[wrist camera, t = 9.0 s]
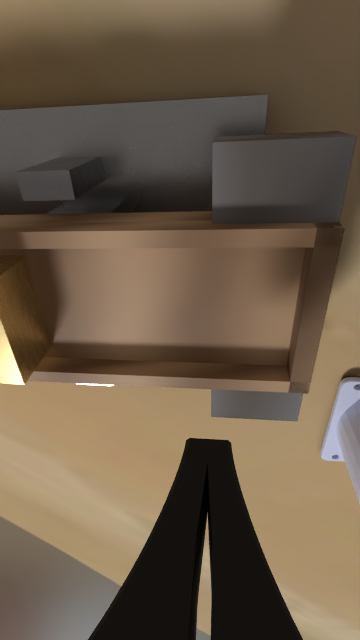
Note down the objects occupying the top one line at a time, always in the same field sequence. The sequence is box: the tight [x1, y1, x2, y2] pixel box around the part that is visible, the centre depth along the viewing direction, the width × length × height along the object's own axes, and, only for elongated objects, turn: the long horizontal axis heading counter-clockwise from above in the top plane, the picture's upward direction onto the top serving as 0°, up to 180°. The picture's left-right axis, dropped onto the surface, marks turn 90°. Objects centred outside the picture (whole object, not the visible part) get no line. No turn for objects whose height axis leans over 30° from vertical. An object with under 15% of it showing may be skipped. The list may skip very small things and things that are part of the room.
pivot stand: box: [0, 95, 268, 386], centre depth 16 cm, size 16×14×5 cm
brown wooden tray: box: [0, 131, 357, 421], centre depth 14 cm, size 20×12×3 cm, turn 93°
